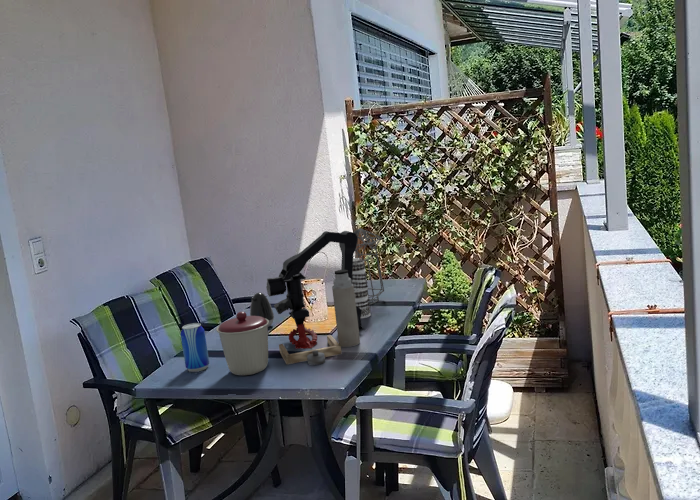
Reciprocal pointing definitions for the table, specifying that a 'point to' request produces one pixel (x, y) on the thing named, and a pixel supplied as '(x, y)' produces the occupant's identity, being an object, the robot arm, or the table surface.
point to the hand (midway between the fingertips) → (299, 330)
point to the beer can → (194, 347)
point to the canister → (245, 343)
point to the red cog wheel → (303, 337)
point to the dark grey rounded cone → (261, 307)
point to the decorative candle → (360, 287)
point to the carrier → (312, 353)
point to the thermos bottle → (345, 309)
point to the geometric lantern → (370, 258)
